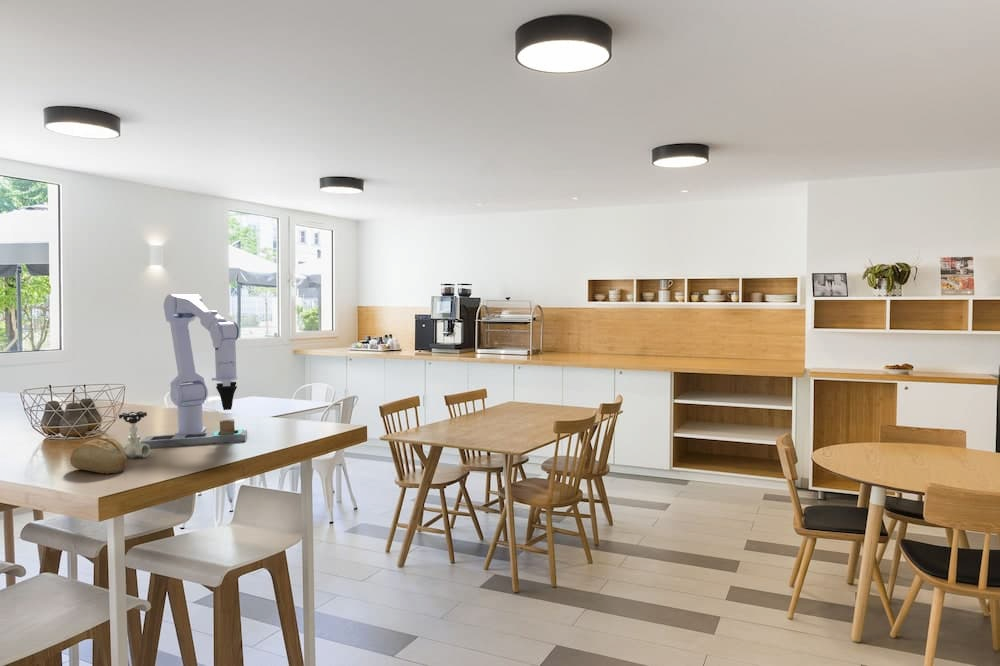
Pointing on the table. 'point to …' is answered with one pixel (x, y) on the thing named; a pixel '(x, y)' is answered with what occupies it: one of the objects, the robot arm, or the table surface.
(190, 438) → the grey slotted board
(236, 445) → the table surface
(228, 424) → the walnut block
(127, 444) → the valve
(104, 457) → the bread roll
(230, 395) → the robot arm
